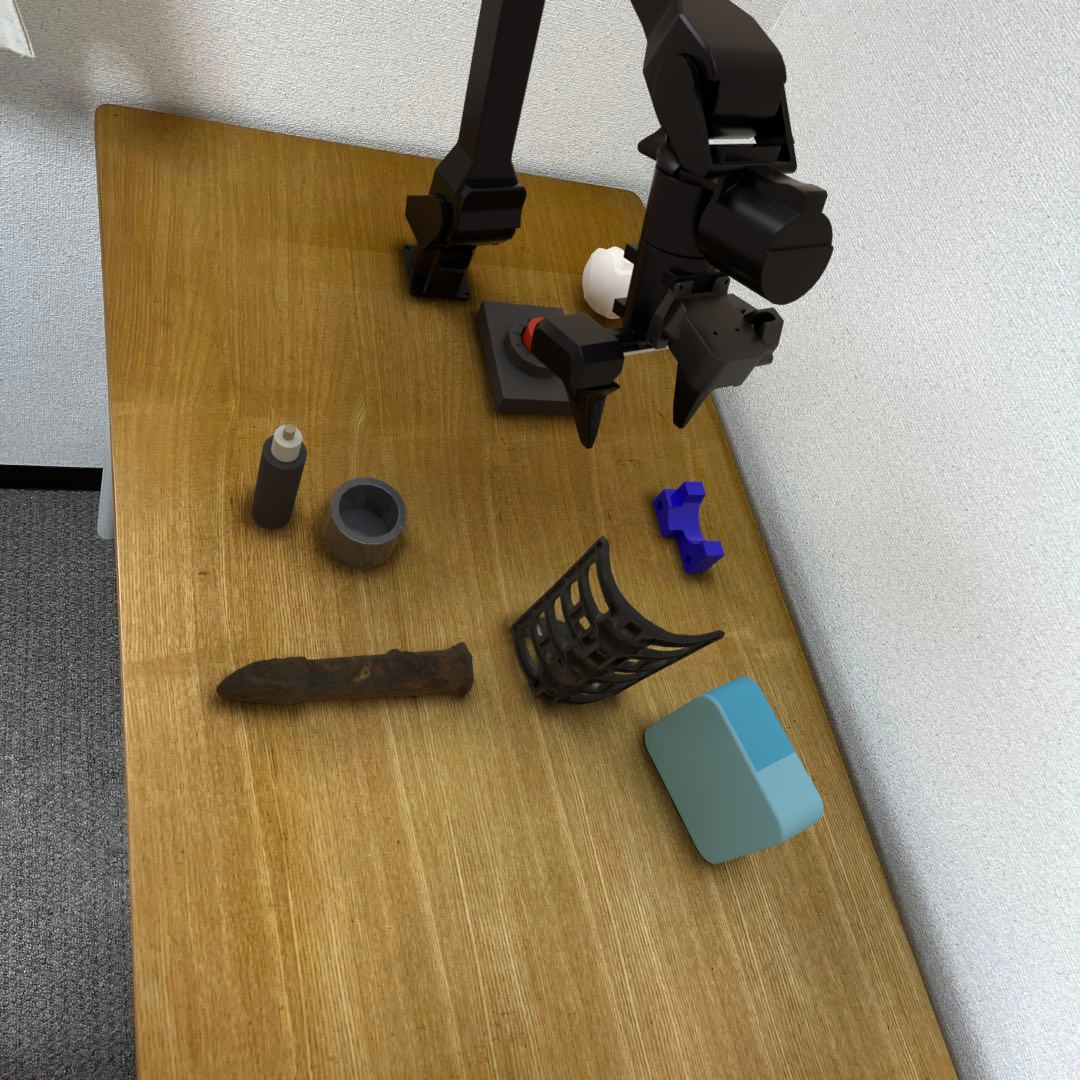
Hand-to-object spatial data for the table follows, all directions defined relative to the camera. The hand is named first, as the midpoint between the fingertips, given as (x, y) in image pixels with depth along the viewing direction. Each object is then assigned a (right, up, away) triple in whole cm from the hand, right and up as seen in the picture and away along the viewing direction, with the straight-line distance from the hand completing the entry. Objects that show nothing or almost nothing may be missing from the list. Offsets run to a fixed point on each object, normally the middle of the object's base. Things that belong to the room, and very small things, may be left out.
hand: (633, 435), depth 71 cm
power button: (-7, +11, +18) cm, 23 cm away
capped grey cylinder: (-30, -6, +3) cm, 30 cm away
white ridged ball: (-1, +18, +29) cm, 34 cm away
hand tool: (-22, -20, -1) cm, 30 cm away
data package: (+5, -29, +6) cm, 30 cm away
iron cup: (-23, -8, +5) cm, 25 cm away
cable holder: (+6, -8, +18) cm, 20 cm away
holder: (-6, -20, +6) cm, 22 cm away
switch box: (-9, +10, +21) cm, 25 cm away
